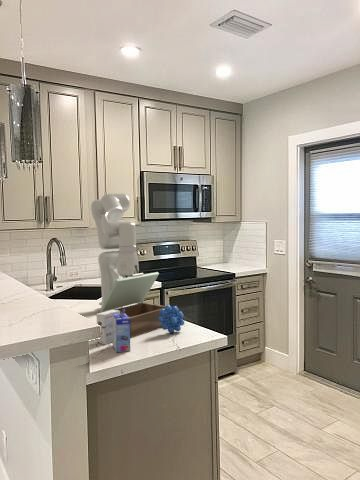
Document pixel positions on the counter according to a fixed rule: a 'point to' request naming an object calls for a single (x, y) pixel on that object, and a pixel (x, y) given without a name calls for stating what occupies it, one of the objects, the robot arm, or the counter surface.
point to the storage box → (143, 317)
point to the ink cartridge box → (121, 332)
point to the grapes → (171, 318)
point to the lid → (129, 290)
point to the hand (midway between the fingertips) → (129, 290)
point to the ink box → (106, 326)
